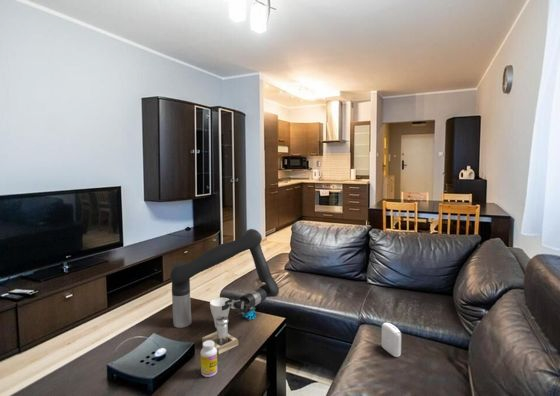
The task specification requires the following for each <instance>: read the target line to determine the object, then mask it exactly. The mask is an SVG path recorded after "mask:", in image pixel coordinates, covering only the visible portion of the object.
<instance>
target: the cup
mask: <svg viewBox="0 0 560 396" xmlns="http://www.w3.org/2000/svg"><path fill="white" fill-rule="evenodd" d="M228 300H230V299H229V298H227V297H218V298H213V299H212V300H211V301H209V307H210V308H209V309H210V312H211V315H212V317H213V321H214V327H215V329H217V324H216V318H217V317H220V316H226V317H228V318H229V313H230V308H228V309H226V310H224V311H222V306H223V305H225V301H228Z"/></svg>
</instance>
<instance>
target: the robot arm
mask: <svg viewBox="0 0 560 396" xmlns="http://www.w3.org/2000/svg"><path fill="white" fill-rule="evenodd" d="M262 239H263V237H262V234H261V233H260V232H259V231H258V230H256V229H254V228H250V229H247V230H245V232H244V235H242V236H240V237H239V238H236V239H235V240H232V241H228V242H225V243H221V244H218V245H216V246H214V247H212V248H209V249H208V250H206V251H204V252H203V253H202V254H201V255H199V256H198V257H197V258H196V259H194V260H192V261H190V262H188V263H185V262H183V261H179V262H175V263H174V264H173V266H172V267H171V270H170V280H171V299H172V300H171V301H172V322H173V326H174V328H179V329H181V328H186V327H189V326H190V325H192V310H191V305H192V304H191V303H192V302H191V279H192V278H193V277H194V276H197V275H198V274H200V273H203V272H205V271H206V270H209V269H210V268H213V267H215V266H217V265H220V264H222V263H224V262H226V261H227V260H230V259H231V258H233V257H235V256H237V255H239V254H241V253H242V252H246V251H247V250H249V251H250V255H251V257H252V260H253V263H254V267H255V270H256V273H257V276H258V280H259V281H260V282H261V283H264V284H262V285H261V286H259V287H258V288H257V289H255V290H253V291H249V292H247V293H245V294H243V295H241V296H240V298H239V299H236V300H235V298H234V297H233V298H230V299H229V300H228V301H225V305H223V306H222V311H224V310H226V309H228V308H229V309H232V310H233V309H236V310H235V311H234V316H238V315H240V314H241V315H242V313H245V314H247V313H249V312H250V311H252V310H253V308H254V307H256V306H258V305H259V304H260V303H263V302H264V301H265V300H266V299H267V298H275V297H277V296H278V295H279V293H280V290H279V289H280V288H279V285H278V284H277V282H276V280H275V279H274V277H273V276H272V273H271V270H270V267H269V264H268V262H267V260H266V258H265V256H264V253H263V249H262V246H261V242H262Z"/></svg>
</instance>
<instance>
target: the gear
mask: <svg viewBox="0 0 560 396" xmlns="http://www.w3.org/2000/svg"><path fill="white" fill-rule="evenodd" d="M241 315H242V317H243V318H245V319H248V320H249V321H251V320H252V321H253V320H255V318H256V317H257V312H256V306H254V307H253V310H252V311H250V312H249V313H247V314H245V313H241Z"/></svg>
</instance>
